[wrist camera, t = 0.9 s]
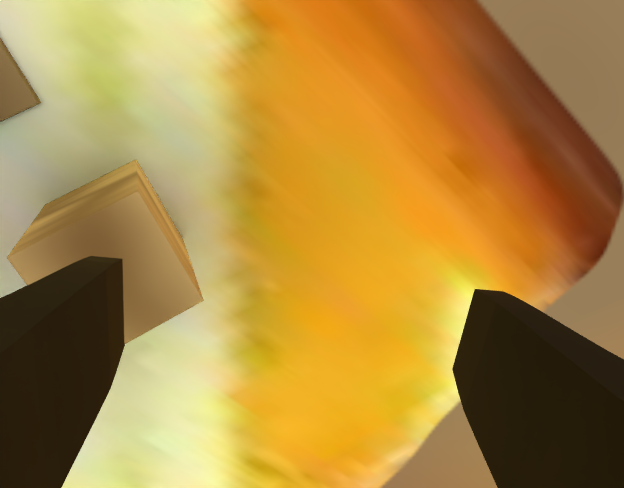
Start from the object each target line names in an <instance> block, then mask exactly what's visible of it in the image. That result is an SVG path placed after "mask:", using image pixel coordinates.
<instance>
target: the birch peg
mask: <svg viewBox="0 0 624 488" xmlns="http://www.w3.org/2000/svg"><path fill="white" fill-rule="evenodd" d="M89 256H98V257H109V258H121V259H123V301H124V344H126V343H128V342H129V341H131V340H133V339H135V338H137V337H138V336H140V335H142V334H144V333H146V332H147V331H149V330H151V329H153V328H155V327H156V326H158V325H160V324H162V323H164V322H165V321H167V320H169V319H171V318H173V317H174V316H176V315H178V314H180V313H182V312H184V311H185V310H187V309H189V308H191V307H193V306H194V305H196V304H198V303H200V302H202V301H203V298H202V295H201V292H200V289H199V286H198V283H197V280H196V277H195V274H194V271H193V268H192V265H191V262H190V259H189V256H188V253H187V250H186V247H185V244H184V241H183V239H182V237H181V235H180V234H179V232H178V230H177V229H176V227H175V225H174V223H173V222H172V220H171V218H170V217H169V215H168V213H167V211H166V210H165V208H164V206H163V205H162V203H161V201H160V199H159V198H158V196H157V194H156V193H155V191H154V189H153V187H152V186H151V184H150V182H149V181H148V179H147V177H146V176H145V174H144V172H143V170H142V169H141V167H140V165H139V164H138V162H137V160H134V161H132V162H130V163H128V164H126V165H124V166H122V167H120V168H118V169H116V170H114V171H112V172H110V173H108V174H106V175H104V176H102V177H100V178H98V179H96V180H94V181H92V182H90V183H88V184H86V185H84V186H82V187H80V188H78V189H76V190H74V191H72V192H70V193H68V194H66V195H64V196H62V197H60V198H58V199H56V200H54V201H52V202H50V203H48V204H45V206H44V207H43V209H42V210H41V211H40V213H39V214H38V215H37V217H36V218H35V220H34V221H33V222H32V224H31V225H30V227H29V228H28V229H27V231H26V232H25V233H24V235H23V236H22V238H21V239H20V240H19V242H18V243H17V244H16V246H15V247H14V249H13V250H12V251H11V253H10V254H9V255H8V257H7V259H8V260H9V261H10V263H11V264H12V265H13V267H14V268H15V269H16V271H17V272H18V273H19V275H20V276H21V277H22V279H23V280H24V281H25V283H26V284H27V285H29V284H31V283H33V282H35V281H38V280H40V279H42V278H44V277H46V276H48V275H50V274H52V273H54V272H56V271H58V270H60V269H62V268H64V267H66V266H68V265H70V264H72V263H74V262H76V261H79V260H81V259H83V258H86V257H89Z"/></svg>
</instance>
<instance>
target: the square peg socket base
mask: <svg viewBox="0 0 624 488" xmlns="http://www.w3.org/2000/svg"><path fill="white" fill-rule="evenodd" d="M39 103H41V101H40V100H39V98H38V97H37V95H36V94H35V92H34V90H33V89H32V87H31V86H30V84H29V82H28V81H27V79H26V78H25V76H24V75H23V73H22V71H21V70H20V68H19V67H18V65H17V64H16V62H15V60H14V59H13V57H12V56H11V54H10V52H9V51H8V49H7V48H6V46H5V45H4V43H3V41H2V40H1V38H0V122H1V121H3V120H5V119H7V118H9V117H12V116H14V115H16V114H18V113H20V112H22V111H24V110H27V109H29V108H31V107H33V106H35V105H37V104H39Z"/></svg>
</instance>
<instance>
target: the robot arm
mask: <svg viewBox="0 0 624 488" xmlns="http://www.w3.org/2000/svg"><path fill="white" fill-rule="evenodd" d="M124 346H125V344H124V301H123V259H121V258H109V257H98V256H89V257H86V258H83V259H81V260H79V261H76V262H74V263H72V264H70V265H68V266H66V267H64V268H62V269H60V270H58V271H56V272H54V273H52V274H50V275H48V276H46V277H44V278H42V279H40V280H38V281H35V282H33V283H31V284H29V285H27V286H25V287H23V288H21V289H19V290H17V291H15V292H13V293H11V294H9V295H6V296H4V297H2V298H0V488H61V487H62V485H63V483H64V481H65V479H66V477H67V475H68V473H69V471H70V469H71V467H72V465H73V463H74V461H75V459H76V457H77V455H78V453H79V451H80V449H81V447H82V445H83V443H84V441H85V439H86V437H87V435H88V433H89V431H90V429H91V427H92V425H93V423H94V421H95V419H96V417H97V415H98V413H99V411H100V409H101V407H102V405H103V403H104V401H105V399H106V397H107V394H108V392H109V390H110V388H111V385H112V382H113V380H114V377H115V374H116V371H117V368H118V365H119V362H120V358H121V355H122V352H123V349H124ZM453 373H454V377H455V381H456V385H457V389H458V393H459V396H460V399H461V403H462V405H463V409H464V412H465V414H466V417H467V419H468V422H469V424H470V426H471V428H472V431H473V433H474V436H475V438H476V440H477V442H478V445H479V447H480V449H481V451H482V453H483V456H484V458H485V460H486V463H487V465H488V467H489V469H490V471H491V474H492V476H493V478H494V480H495V482H496V485H497V487H498V488H624V359H622V358H620V357H618V356H616V355H614V354H613V353H611V352H609V351H607V350H605V349H604V348H602V347H600V346H598V345H597V344H595V343H593V342H592V341H590V340H588V339H587V338H585V337H583V336H581V335H580V334H578V333H576V332H574V331H573V330H571V329H570V328H568V327H566V326H564V325H563V324H561V323H560V322H558V321H556V320H555V319H553V318H551V317H550V316H548V315H546V314H545V313H543V312H541V311H540V310H538V309H536V308H535V307H533V306H531V305H529V304H527V303H526V302H524V301H522V300H520V299H518V298H516V297H514V296H512V295H510V294H508V293H505V292H503V291H492V290H480V289H475V290H474V294H473V298H472V301H471V305H470V308H469V312H468V315H467V319H466V322H465V326H464V330H463V333H462V337H461V340H460V344H459V347H458V351H457V355H456V358H455V362H454V365H453Z"/></svg>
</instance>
